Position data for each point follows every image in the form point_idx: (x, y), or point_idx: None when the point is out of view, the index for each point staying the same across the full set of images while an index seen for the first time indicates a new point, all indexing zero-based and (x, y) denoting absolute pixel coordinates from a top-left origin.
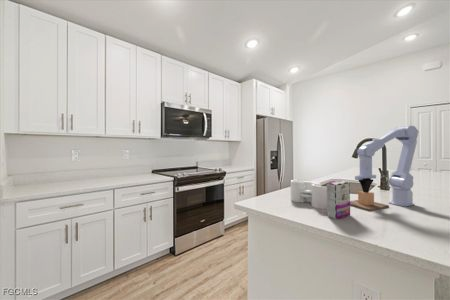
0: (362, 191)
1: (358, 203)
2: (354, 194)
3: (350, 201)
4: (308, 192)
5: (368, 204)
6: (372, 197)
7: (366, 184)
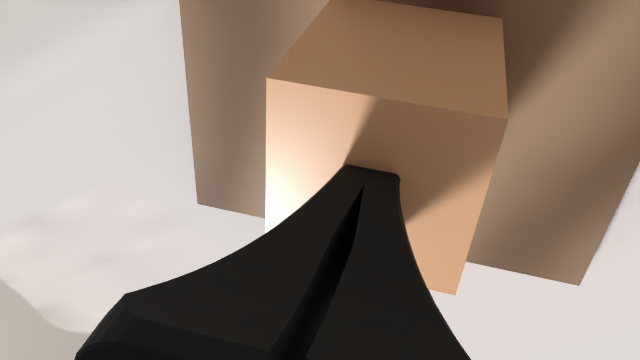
0: None
1: None
2: (70, 323)
3: None
4: None
5: (474, 21)
6: (345, 45)
7: (439, 321)
